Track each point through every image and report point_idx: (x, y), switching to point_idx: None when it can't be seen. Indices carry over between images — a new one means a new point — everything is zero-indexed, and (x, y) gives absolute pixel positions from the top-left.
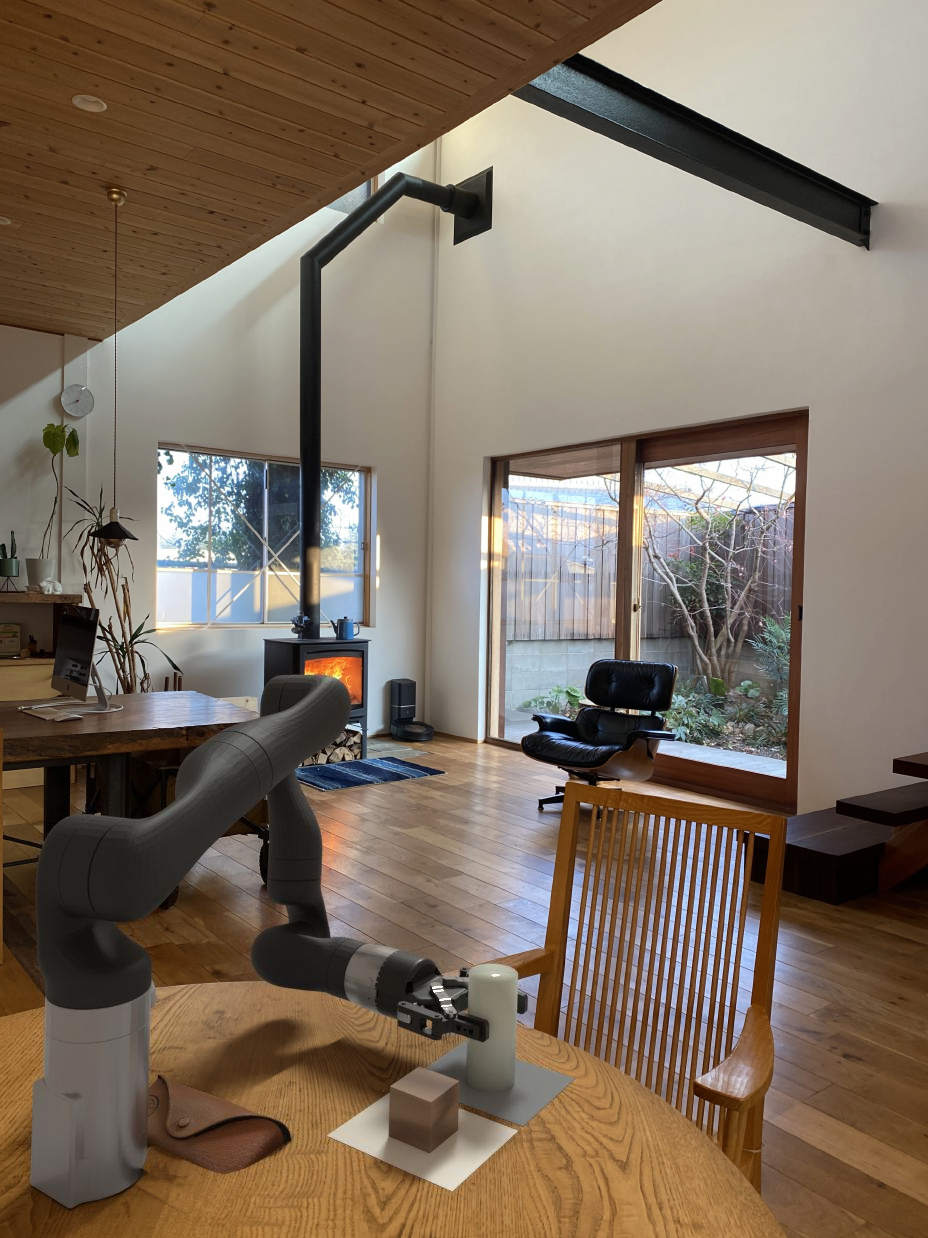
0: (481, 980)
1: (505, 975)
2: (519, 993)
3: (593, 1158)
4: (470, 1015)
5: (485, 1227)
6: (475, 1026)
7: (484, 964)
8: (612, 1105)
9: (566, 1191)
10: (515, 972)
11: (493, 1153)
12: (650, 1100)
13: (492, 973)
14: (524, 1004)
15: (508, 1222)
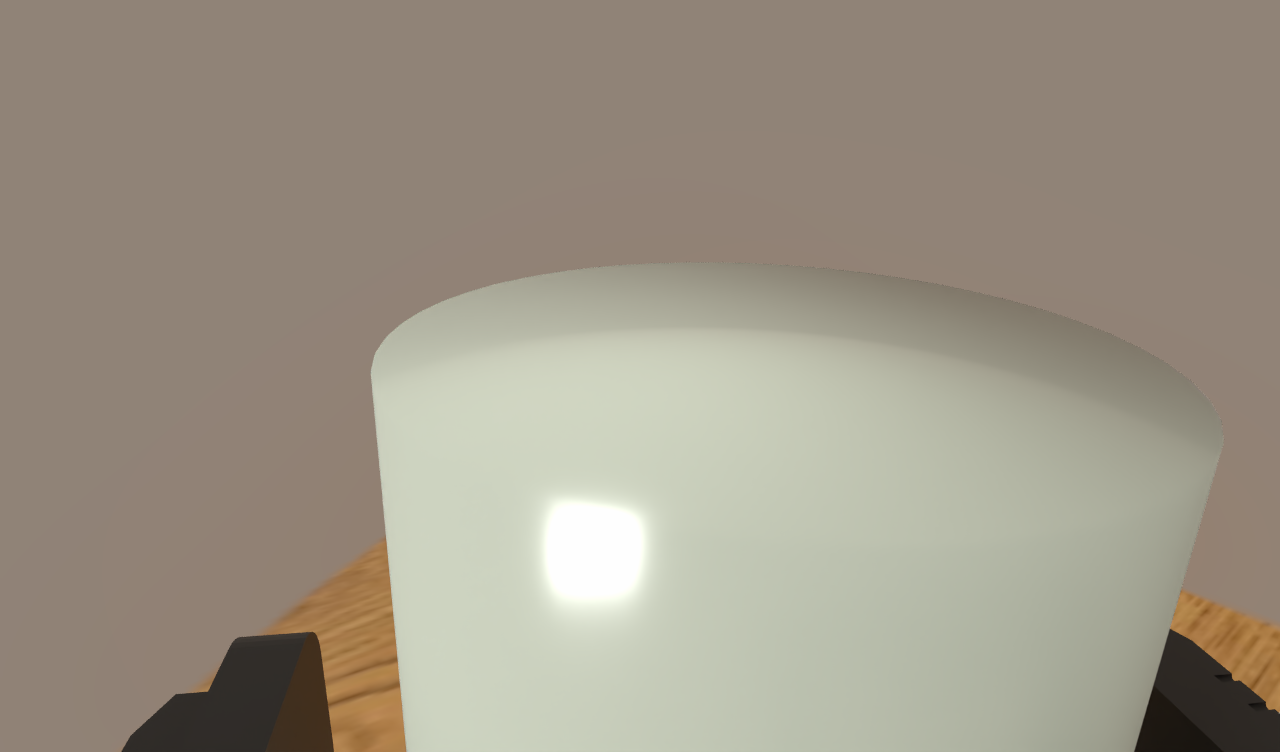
0: (1088, 334)
1: (691, 294)
2: (269, 666)
3: None
4: (1189, 700)
5: (1271, 625)
6: (1175, 632)
7: (578, 493)
8: (399, 679)
9: None
10: (529, 281)
11: None
12: (287, 618)
13: (793, 340)
14: (323, 691)
15: (1185, 603)
